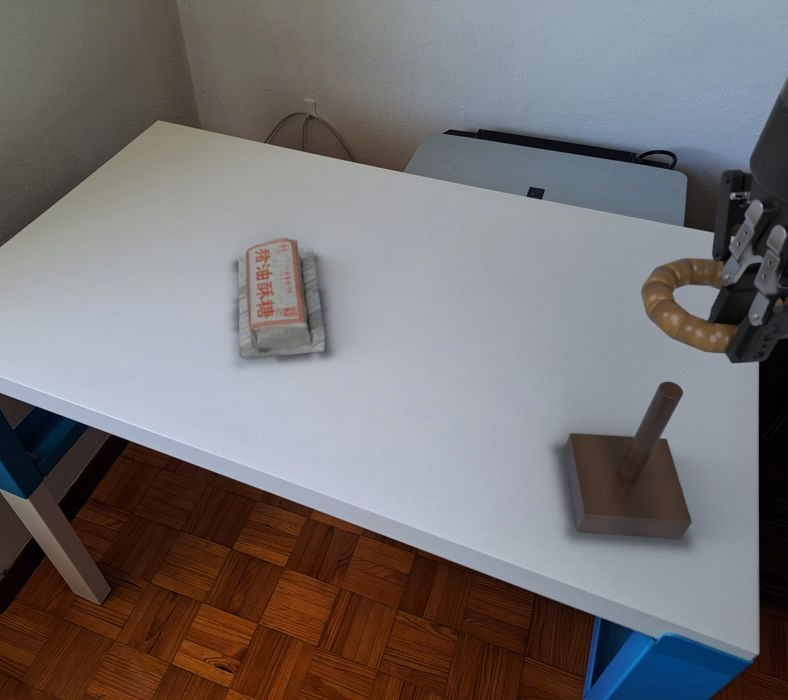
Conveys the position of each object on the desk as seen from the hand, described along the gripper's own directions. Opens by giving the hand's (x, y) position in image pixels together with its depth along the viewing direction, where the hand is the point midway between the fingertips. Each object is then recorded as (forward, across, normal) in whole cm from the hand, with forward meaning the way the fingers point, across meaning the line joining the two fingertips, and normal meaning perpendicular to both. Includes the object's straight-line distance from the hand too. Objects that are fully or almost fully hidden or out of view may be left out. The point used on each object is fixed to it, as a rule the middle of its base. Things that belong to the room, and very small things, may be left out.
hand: (731, 342), depth 47 cm
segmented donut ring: (0, +4, 0) cm, 4 cm away
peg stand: (+23, +3, +1) cm, 23 cm away
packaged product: (+23, +32, +32) cm, 51 cm away
